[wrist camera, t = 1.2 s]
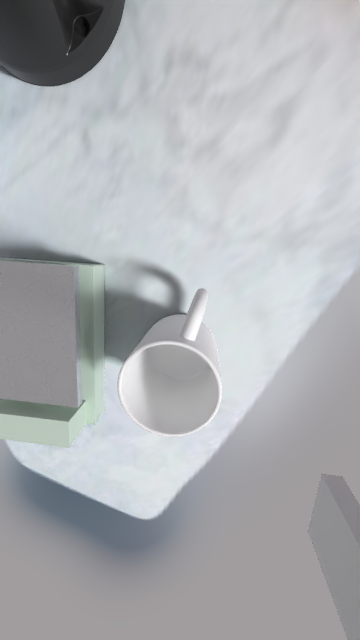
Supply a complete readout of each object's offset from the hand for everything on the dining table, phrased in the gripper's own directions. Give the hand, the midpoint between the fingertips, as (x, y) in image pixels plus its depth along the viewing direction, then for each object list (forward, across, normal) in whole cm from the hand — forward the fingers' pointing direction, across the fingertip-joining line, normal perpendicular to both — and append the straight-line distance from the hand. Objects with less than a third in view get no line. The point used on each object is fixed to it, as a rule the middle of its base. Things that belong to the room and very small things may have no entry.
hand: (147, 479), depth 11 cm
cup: (+20, 0, 0) cm, 21 cm away
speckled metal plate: (+17, -15, 0) cm, 23 cm away
